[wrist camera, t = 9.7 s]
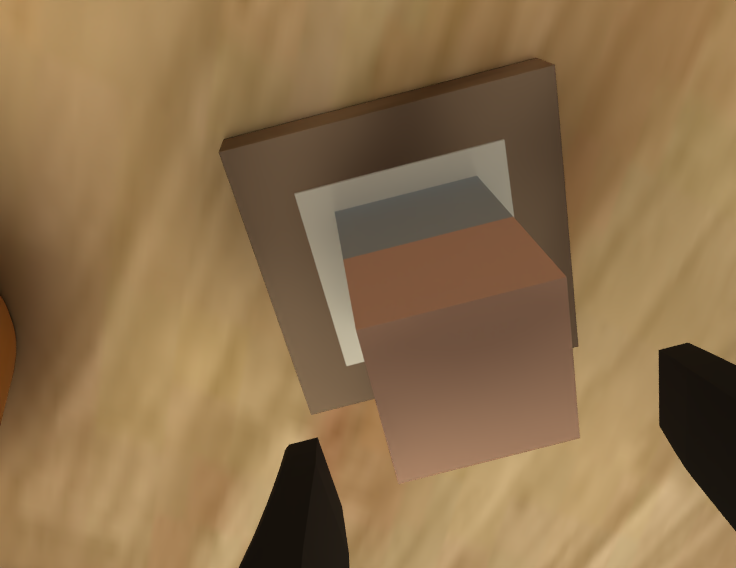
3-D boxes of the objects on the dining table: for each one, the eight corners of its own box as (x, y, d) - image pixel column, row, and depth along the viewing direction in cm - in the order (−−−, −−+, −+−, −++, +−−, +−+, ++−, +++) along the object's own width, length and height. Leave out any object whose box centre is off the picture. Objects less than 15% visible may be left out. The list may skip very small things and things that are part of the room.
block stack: (476, 175, 19) (567, 276, 13) (495, 299, 21) (579, 438, 15) (334, 211, 19) (355, 330, 13) (366, 332, 21) (398, 483, 15)
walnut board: (536, 58, 19) (556, 65, 18) (562, 324, 24) (579, 347, 22) (223, 139, 19) (218, 153, 18) (310, 389, 24) (311, 416, 23)
